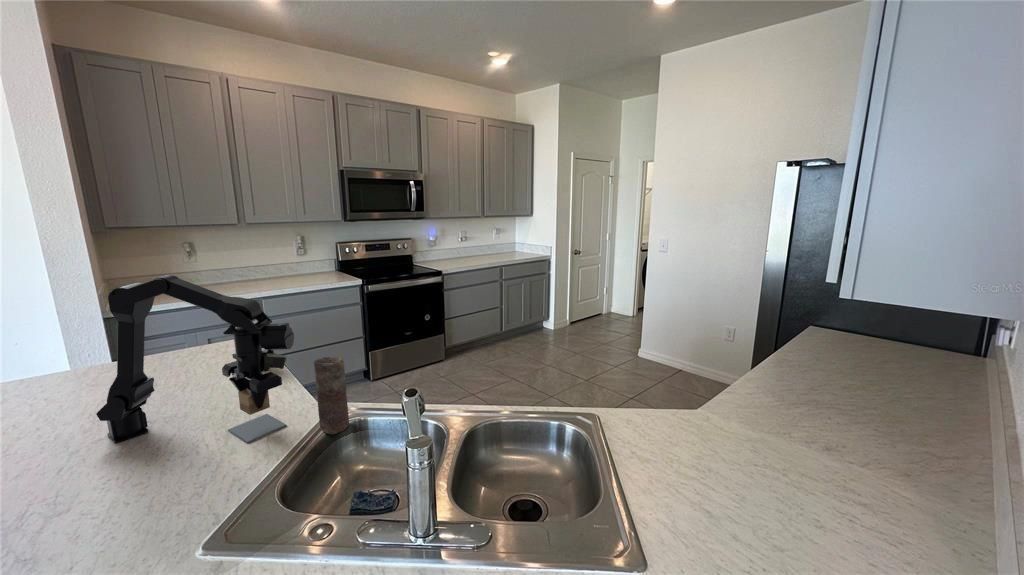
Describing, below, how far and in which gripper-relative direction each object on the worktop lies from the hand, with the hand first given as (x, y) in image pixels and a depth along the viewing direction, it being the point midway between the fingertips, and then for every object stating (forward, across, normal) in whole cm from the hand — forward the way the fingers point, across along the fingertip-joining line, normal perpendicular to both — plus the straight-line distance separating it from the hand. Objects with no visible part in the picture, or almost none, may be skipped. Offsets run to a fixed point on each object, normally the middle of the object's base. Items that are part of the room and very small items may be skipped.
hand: (254, 404), depth 108 cm
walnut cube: (+1, 0, 0) cm, 1 cm away
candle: (+7, -16, -12) cm, 21 cm away
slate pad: (+7, 0, 0) cm, 7 cm away
